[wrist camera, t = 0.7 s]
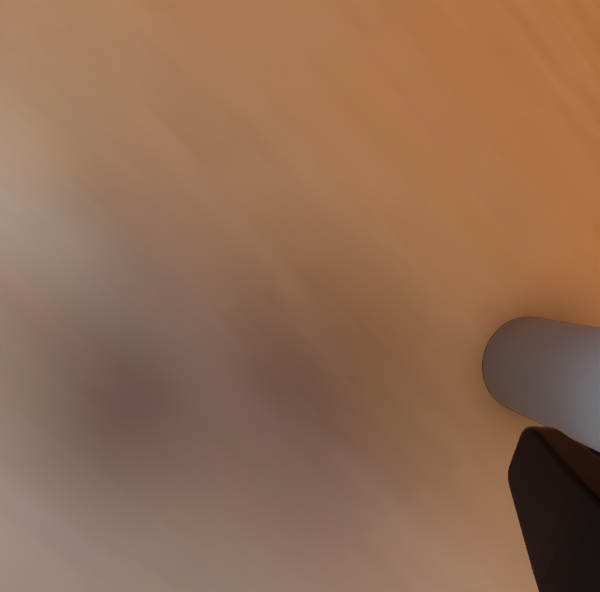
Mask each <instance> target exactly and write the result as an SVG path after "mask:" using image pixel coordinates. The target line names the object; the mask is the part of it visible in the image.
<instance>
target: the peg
mask: <svg viewBox="0 0 600 592" xmlns="http://www.w3.org/2000/svg"><path fill="white" fill-rule="evenodd" d="M482 370H483V377H484V381H485V384H486V386H487V388H488V390H489V392H490V393H491V395H492V396H493V397H494V398H495V399H496V400H497V401H498V402H499V403H500V404H502V405H504V406H505V407H507V408H509V409H511V410H513V411H515V412H518V413H520V414H522V415H524V416H526V417H528V418H530V419H532V420H534V421H536V422H538V423H540V424H542V425H544V426H546V427H552V428H556V429H558V430H560V431H561V432H563V433H564V434H565V435H567V436H568V437H570V438H571V439H573V440H575V441H578V442H580V443H582V444H584V445H586V446H588V447H590V448H592V449H594V450H596V451H598V452H600V328H598V327H592V326H585V325H579V324H573V323H567V322H561V321H555V320H549V319H542V318H536V317H521V318H517V319H514V320H511V321H509V322H507V323H506V324H504V325H503V326H502V327H500V328H499V329H498V330H497V331H496V332H495V333H494V335H493V336H492V337H491V339H490V341H489V342H488V344H487V347H486V349H485V352H484V356H483V364H482Z"/></svg>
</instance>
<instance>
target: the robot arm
mask: <svg viewBox="0 0 600 592" xmlns="http://www.w3.org/2000/svg"><path fill="white" fill-rule="evenodd" d="M508 481H509V487H510V490H511V494H512V498H513V501H514V505H515V508H516V512H517V516H518V519H519V523H520V527H521V530H522V534H523V537H524V541H525V545H526V548H527V552H528V556H529V559H530V563H531V567H532V570H533V574H534V577H535V580H536V583H537V587H538V590H539V592H600V458H599V457H598V456H596V455H595V454H593V453H592V452H590V451H589V450H587V449H586V448H585V447H583V446H582V445H580V444H579V443H577V442H576V441H574V440H573V439H571V438H570V437H568V436H567V435H565V434H564V433H563V432H561V431H560V430H558V429H556V428H552V427H537V426H530V427H527V428H525V429H524V430H523V431H522V433H521V436H520V438H519V441H518V444H517V447H516V449H515V452H514V455H513V457H512V460H511V463H510V466H509V470H508Z"/></svg>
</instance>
